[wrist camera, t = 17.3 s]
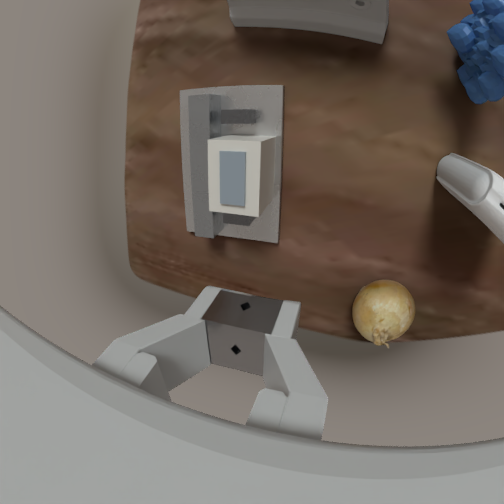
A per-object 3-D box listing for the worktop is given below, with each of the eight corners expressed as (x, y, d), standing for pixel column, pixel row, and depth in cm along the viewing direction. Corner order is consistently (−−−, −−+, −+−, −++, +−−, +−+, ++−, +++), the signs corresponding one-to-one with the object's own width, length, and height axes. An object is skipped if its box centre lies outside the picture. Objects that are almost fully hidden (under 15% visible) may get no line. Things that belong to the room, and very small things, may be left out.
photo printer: (504, 198, 23) (560, 242, 13) (487, 226, 25) (535, 280, 15) (447, 145, 24) (502, 167, 13) (429, 177, 26) (473, 215, 15)
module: (276, 136, 28) (259, 141, 23) (273, 199, 32) (257, 218, 26) (231, 134, 30) (206, 140, 24) (231, 194, 33) (207, 212, 28)
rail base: (284, 86, 26) (276, 82, 23) (279, 240, 35) (271, 254, 31) (183, 90, 29) (165, 89, 26) (190, 228, 38) (175, 240, 34)
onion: (342, 284, 35) (340, 320, 29) (400, 260, 31) (410, 294, 25) (365, 328, 37) (364, 366, 31) (417, 308, 33) (426, 345, 27)
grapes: (427, 2, 16) (461, -43, 6) (479, 22, 15) (529, -6, 4) (427, 92, 22) (474, 82, 12) (480, 111, 20) (540, 117, 10)
